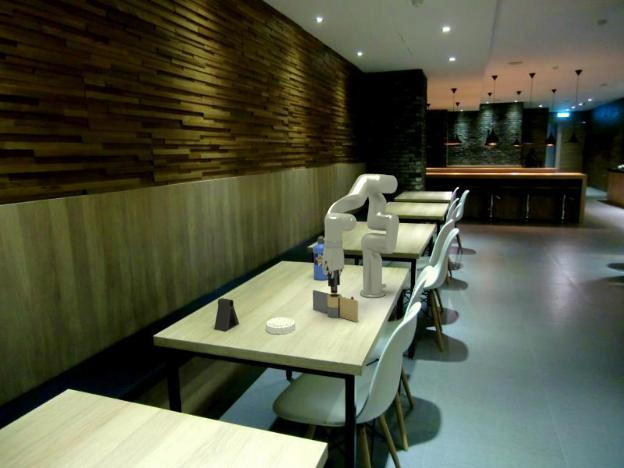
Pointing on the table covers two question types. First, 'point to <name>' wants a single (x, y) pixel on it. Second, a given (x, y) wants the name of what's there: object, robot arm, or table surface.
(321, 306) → the hinge base
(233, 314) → the phone stand
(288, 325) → the mooncake
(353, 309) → the hinge leaf
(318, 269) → the water bottle
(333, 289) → the hinge pin
